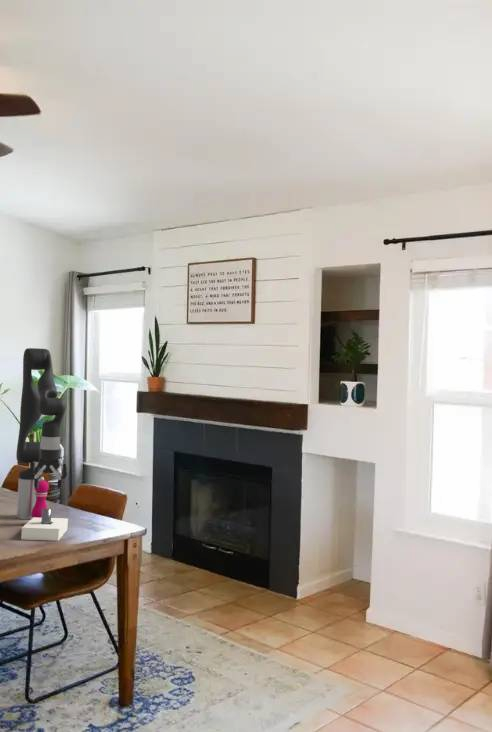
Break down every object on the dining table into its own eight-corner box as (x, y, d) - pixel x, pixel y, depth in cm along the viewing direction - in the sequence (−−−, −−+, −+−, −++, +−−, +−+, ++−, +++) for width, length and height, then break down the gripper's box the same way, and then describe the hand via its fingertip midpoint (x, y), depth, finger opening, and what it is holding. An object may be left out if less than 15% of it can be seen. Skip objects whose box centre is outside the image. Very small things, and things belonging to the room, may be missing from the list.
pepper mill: (30, 526, 298) (33, 478, 299) (30, 522, 305) (33, 475, 306) (48, 526, 300) (51, 478, 301) (48, 522, 307) (50, 475, 308)
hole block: (32, 528, 295) (33, 517, 295) (67, 529, 296) (68, 518, 296) (21, 539, 275) (21, 527, 275) (58, 540, 276) (58, 528, 276)
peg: (41, 533, 287) (43, 508, 287) (50, 533, 287) (52, 508, 287) (39, 535, 283) (41, 509, 284) (49, 535, 284) (50, 510, 284)
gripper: (69, 447, 290) (67, 487, 290) (33, 445, 289) (31, 486, 289) (66, 449, 282) (64, 490, 282) (29, 448, 281) (27, 489, 281)
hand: (47, 488), depth 286 cm, fingers open, 8 cm apart
